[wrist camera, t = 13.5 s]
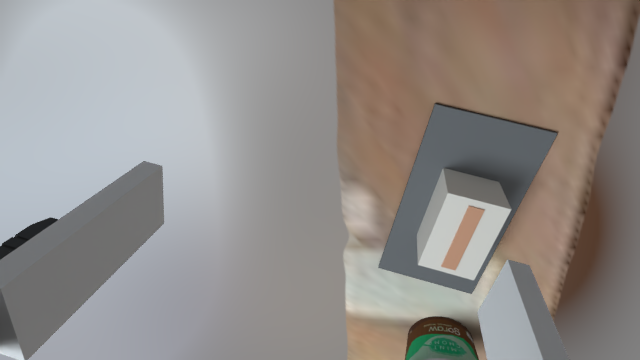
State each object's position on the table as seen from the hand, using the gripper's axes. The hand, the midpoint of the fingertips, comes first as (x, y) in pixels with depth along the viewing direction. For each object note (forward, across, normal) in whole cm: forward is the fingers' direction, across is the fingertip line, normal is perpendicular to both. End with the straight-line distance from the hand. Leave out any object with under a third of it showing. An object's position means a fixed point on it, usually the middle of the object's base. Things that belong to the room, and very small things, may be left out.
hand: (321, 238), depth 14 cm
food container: (+31, +18, -34) cm, 49 cm away
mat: (+31, +14, -14) cm, 36 cm away
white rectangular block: (+30, +14, -14) cm, 36 cm away
